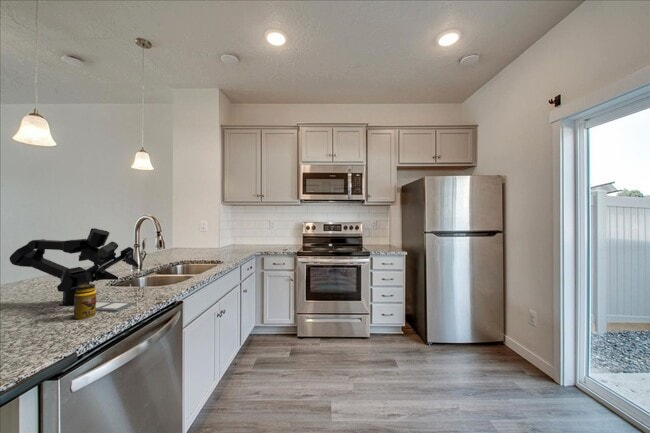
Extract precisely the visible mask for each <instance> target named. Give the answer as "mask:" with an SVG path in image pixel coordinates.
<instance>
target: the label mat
mask: <svg viewBox="0 0 650 433" xmlns="http://www.w3.org/2000/svg"><path fill="white" fill-rule="evenodd" d="M134 305H136V302H125V301H123V302H121V301H104V300H103V301H102V300H101V301H100V300H98V301H97V300H96V312H113V313H114V312H115V313H118V312H120V311H122V310H125V309H127V308H129V307H131V306H134Z"/></svg>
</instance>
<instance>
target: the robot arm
mask: <svg viewBox="0 0 650 433" xmlns="http://www.w3.org/2000/svg"><path fill="white" fill-rule="evenodd" d="M110 233H111V232H109V230H108V231H107V230H103V229H99V228H95V227H94V228H93V227H92V228H91V229H90V230H89V234H88V236H87V238H81V239H80V238H79V239H68V240H55V239H54V240H53V239H50V240H49V239H44V238H43V239H32V240H30V241H29V242H28V243H27V244H25V245H23V246H21V247H20V248H18V249H16V250H15V251H14V252H13V253H12V254H11V255H10V256H9V262H10V264H12V265H14V266H17V267H27V268H33V269H36V270H38V271H40V272H44V274H48V275H51V276H53V277H55V278H58V279H60V283H59V284H58V285H57V286H56V289H57V292H61V293H62V302H61V303H59V304H58V306H63V307H64V306H67V307H68V306H69V307H74V295H75V293H76V287H77V286H79V285H84V284H91V283H94V282H98V281H106V280H107V281H108V280H110V281H111V280H112V281H113V280H115V281H116V280H119V276H118V275H115V274H114V273H111V272H110V271H108V270H107V269H109V268H111V267H112V266H114V265H116V264H118V263H119V262H124V263H125V264H127V265H130V266H132V267H135V268H138V267H139V266H140V265H139V264H138V263H137V262H136V260H135V258H134V256H135V254H134V253H135V248H133V247H131V246H127V247H126V248H124V249H122V250H120V255H118V256H117V257H116V255H117V253H116V252H115V251H116V250H117V249H118V247H119V244H118V243H117V242H115V241H110V242H108V243H107V240H108V238H109V236H110ZM106 243H107V244H106ZM46 250H50V251H51V250H52V251H53V250H54V251H56V250H57V251H62V252H63V253H66V254H78V253H80V254H79V255H78V261H79V262H85V261H90V262H91V263H93V265H92V266H91V267H89V268H87V269H86V268H83V267H81V266H76V267H71V268H70V267H67V266H64V265H62V264H59V263H56V262H55V261H51V260H50V259H47V258H44V255H45V254H46Z"/></svg>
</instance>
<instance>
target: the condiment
mask: <svg viewBox="0 0 650 433" xmlns="http://www.w3.org/2000/svg"><path fill="white" fill-rule="evenodd" d="M96 301H97V291H96V285H95V284H94V283H89V284H84V285H79V286H77V287H76V293H75V295H74V306H73V314H71V315H68V317H67V318H66V319H65V320H64V321H63V324H65V323H71V322H72V323H73V322H80V321H85V320H92V319H95V318H96V317H97V315H98V314H99V311H96Z"/></svg>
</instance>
